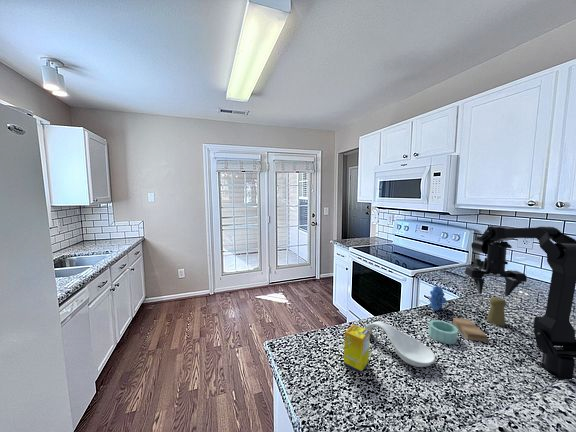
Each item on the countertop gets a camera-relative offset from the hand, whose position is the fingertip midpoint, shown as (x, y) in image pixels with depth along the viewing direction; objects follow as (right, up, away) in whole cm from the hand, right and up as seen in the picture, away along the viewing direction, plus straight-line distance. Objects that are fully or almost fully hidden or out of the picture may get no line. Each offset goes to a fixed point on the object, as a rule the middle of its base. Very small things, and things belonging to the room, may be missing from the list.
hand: (493, 294), depth 98 cm
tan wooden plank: (-13, -13, -4) cm, 19 cm away
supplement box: (-62, -15, -22) cm, 67 cm away
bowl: (-25, -14, -7) cm, 30 cm away
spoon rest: (-46, -15, -15) cm, 51 cm away
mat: (-13, -14, -4) cm, 19 cm away
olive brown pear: (+5, -14, +4) cm, 15 cm away
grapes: (-14, -12, +14) cm, 23 cm away
